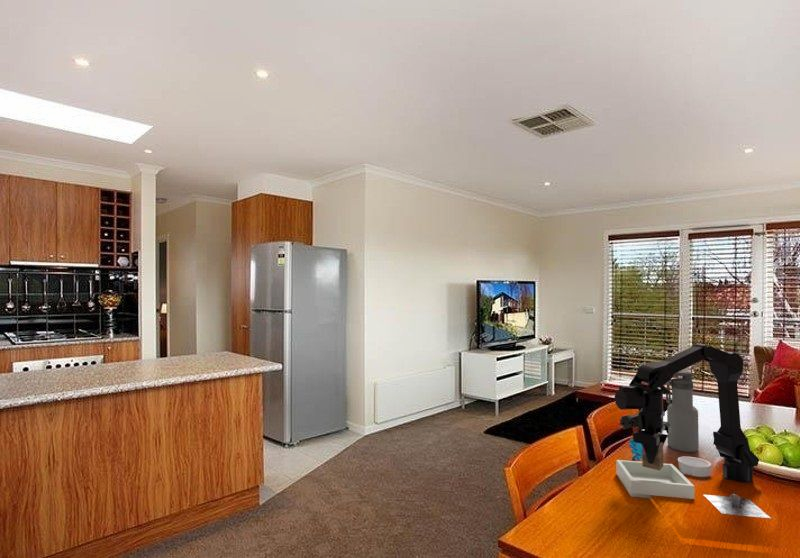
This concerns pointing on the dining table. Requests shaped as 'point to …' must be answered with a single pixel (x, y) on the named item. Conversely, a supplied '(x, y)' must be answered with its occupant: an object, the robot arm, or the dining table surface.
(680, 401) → the water bottle
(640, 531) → the dining table surface
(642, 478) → the bin
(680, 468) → the ramekin
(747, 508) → the stud plate
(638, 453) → the blue coral
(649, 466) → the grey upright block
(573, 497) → the dining table surface
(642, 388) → the robot arm
